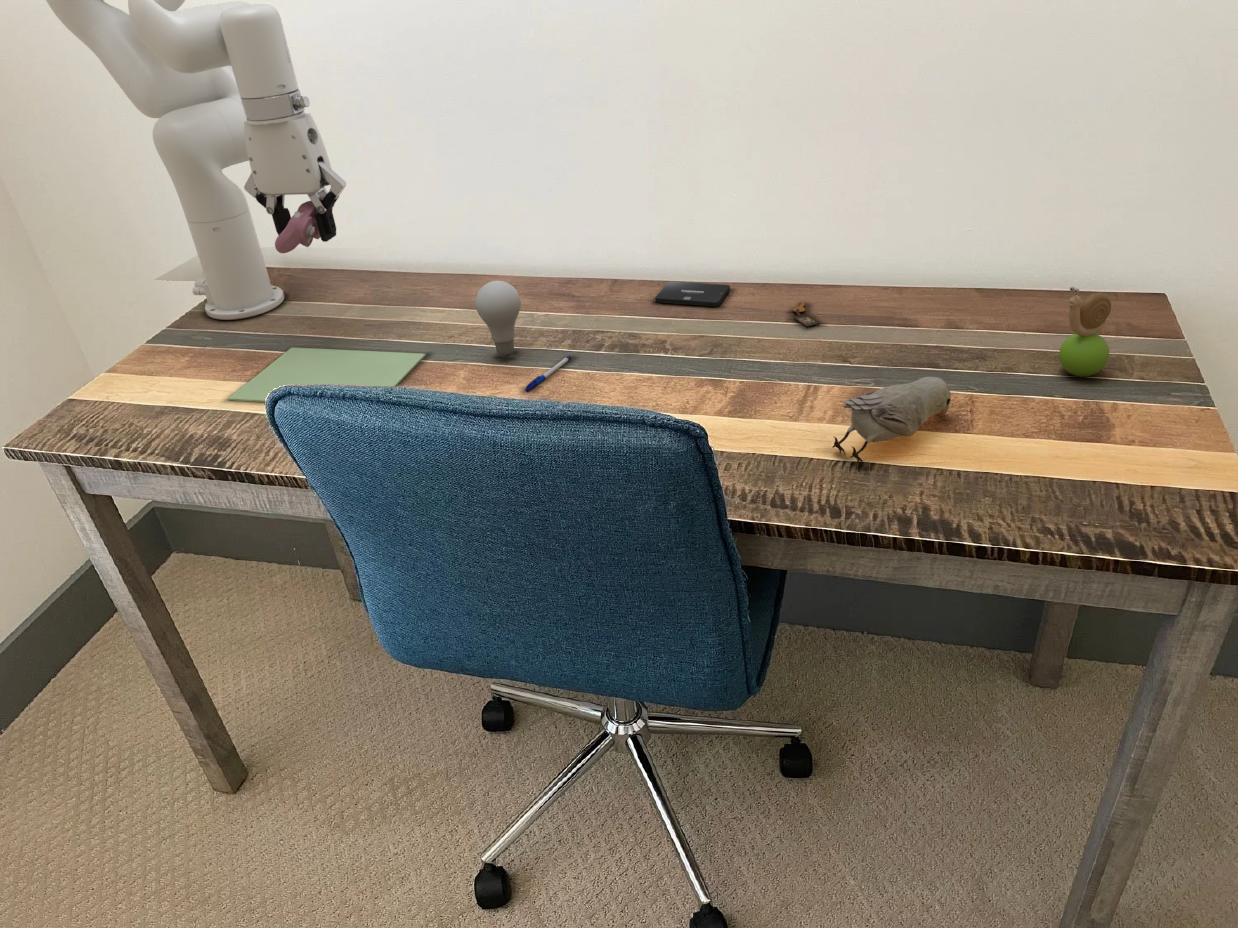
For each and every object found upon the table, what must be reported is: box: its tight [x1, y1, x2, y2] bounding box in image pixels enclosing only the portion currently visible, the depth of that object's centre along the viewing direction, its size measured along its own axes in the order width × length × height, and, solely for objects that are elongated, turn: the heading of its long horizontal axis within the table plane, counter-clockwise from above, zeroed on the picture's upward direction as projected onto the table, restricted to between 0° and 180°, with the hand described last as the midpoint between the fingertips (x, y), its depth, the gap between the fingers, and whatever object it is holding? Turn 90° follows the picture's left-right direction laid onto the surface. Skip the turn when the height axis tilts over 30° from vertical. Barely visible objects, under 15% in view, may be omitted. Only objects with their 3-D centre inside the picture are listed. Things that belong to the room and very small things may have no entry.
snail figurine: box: [1058, 286, 1112, 378], centre depth 114 cm, size 5×6×12 cm
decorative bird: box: [831, 376, 952, 467], centre depth 106 cm, size 5×16×8 cm, turn 122°
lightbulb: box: [475, 280, 522, 358], centre depth 133 cm, size 6×6×11 cm
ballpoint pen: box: [524, 355, 571, 393], centre depth 129 cm, size 10×1×1 cm, turn 151°
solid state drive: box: [654, 280, 731, 307], centre depth 148 cm, size 7×10×1 cm
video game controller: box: [274, 200, 334, 254], centre depth 137 cm, size 10×5×7 cm, turn 169°
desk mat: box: [228, 347, 427, 403], centre depth 134 cm, size 22×16×1 cm
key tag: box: [792, 301, 821, 328], centre depth 138 cm, size 8×3×1 cm, turn 7°
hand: (308, 237), depth 138 cm, fingers closed on video game controller, 6 cm apart
